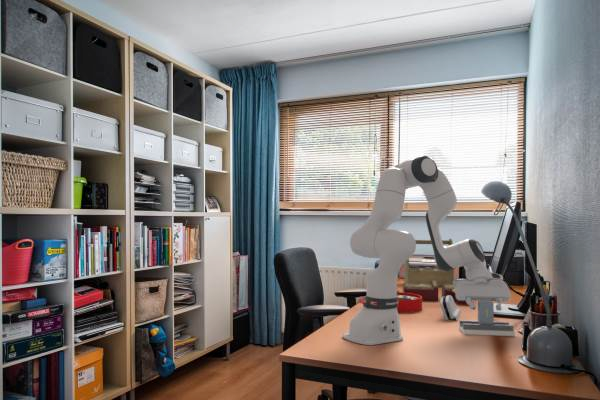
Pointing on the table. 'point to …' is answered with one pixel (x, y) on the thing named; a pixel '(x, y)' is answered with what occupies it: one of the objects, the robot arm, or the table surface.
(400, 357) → the table surface
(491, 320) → the door panel
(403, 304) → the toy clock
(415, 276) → the caddy
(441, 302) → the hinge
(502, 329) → the track base
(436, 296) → the toy houses
